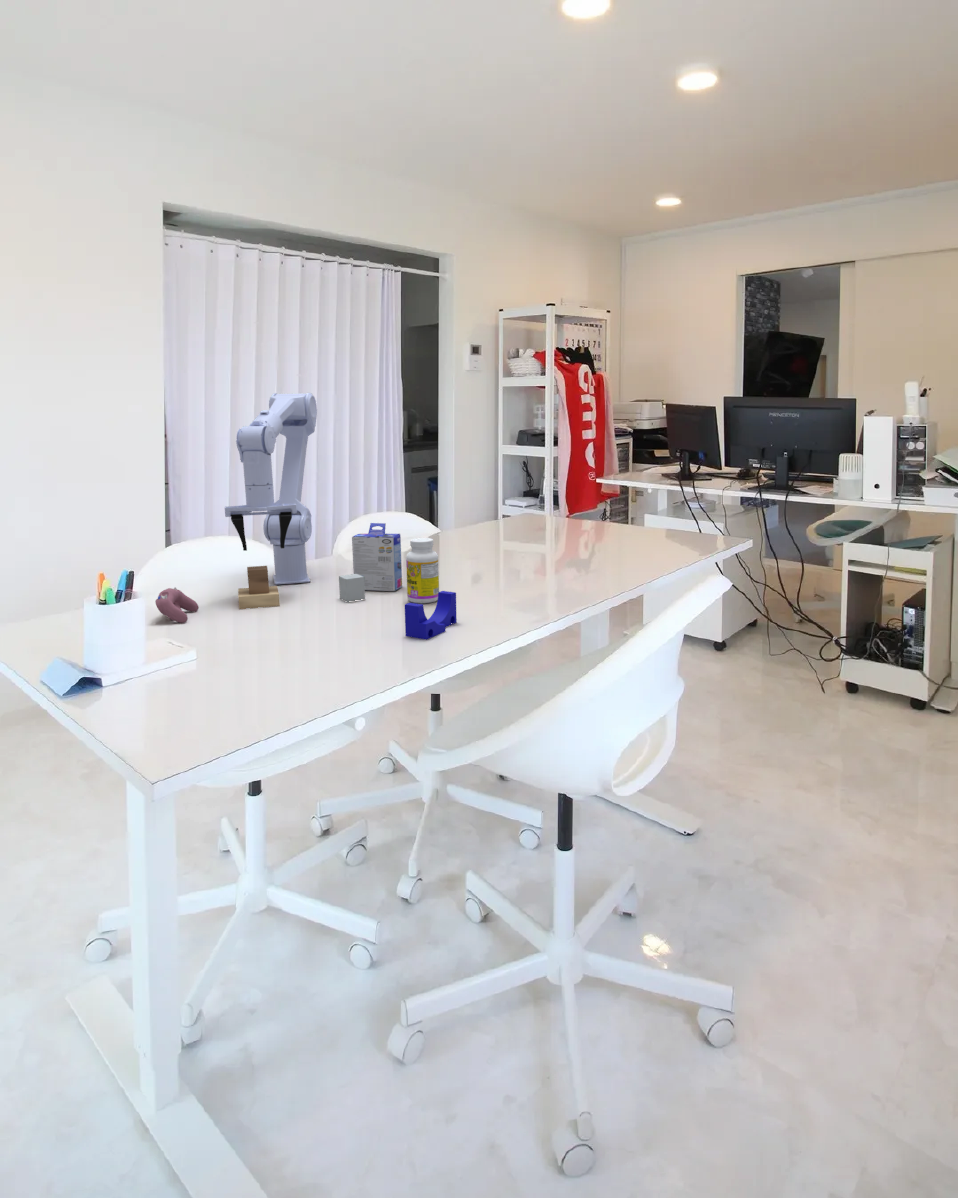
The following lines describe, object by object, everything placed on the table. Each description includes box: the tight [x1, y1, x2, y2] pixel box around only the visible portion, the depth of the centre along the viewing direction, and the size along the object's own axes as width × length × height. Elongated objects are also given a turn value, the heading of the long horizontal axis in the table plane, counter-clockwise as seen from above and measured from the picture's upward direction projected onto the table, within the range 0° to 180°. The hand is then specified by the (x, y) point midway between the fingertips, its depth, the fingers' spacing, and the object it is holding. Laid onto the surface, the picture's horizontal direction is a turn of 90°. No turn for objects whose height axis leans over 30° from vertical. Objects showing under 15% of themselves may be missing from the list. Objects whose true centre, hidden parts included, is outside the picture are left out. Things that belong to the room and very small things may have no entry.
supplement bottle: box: [405, 537, 440, 604], centre depth 168 cm, size 7×7×13 cm
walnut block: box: [246, 565, 270, 594], centre depth 167 cm, size 4×4×5 cm
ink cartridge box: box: [351, 522, 403, 592], centre depth 179 cm, size 10×6×14 cm, turn 79°
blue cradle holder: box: [404, 590, 458, 640], centre depth 147 cm, size 12×4×6 cm, turn 148°
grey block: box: [338, 573, 366, 603], centre depth 170 cm, size 4×4×5 cm
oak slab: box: [237, 585, 281, 610], centre depth 169 cm, size 8×8×3 cm
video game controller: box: [154, 587, 199, 624], centre depth 158 cm, size 10×5×7 cm, turn 5°
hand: (263, 548), depth 172 cm, fingers open, 7 cm apart
